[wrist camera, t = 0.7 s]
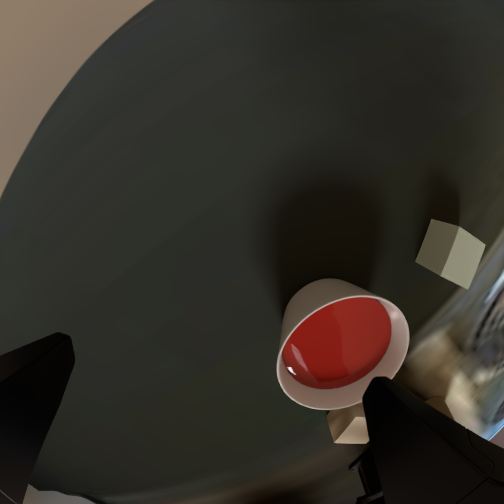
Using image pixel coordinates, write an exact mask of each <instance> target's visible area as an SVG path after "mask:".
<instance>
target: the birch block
mask: <svg viewBox="0 0 504 504" xmlns="http://www.w3.org/2000/svg"><path fill="white" fill-rule="evenodd" d="M326 418H327V421H328V424H329V428H330V431H331V434H332V438H333V441H334V443H348V444H366V443H367V442H368V441H369V437H368V431H367V425H366V420H365V414H364V409H363V404H362V402H360V403H357V404H355V405H352V406H349V407H345V408H340V409H333V410H330V412H329V413H328V415H327V416H326Z"/></svg>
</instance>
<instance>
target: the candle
mask: <svg viewBox="0 0 504 504" xmlns="http://www.w3.org/2000/svg"><path fill="white" fill-rule="evenodd" d="M408 346H409V328H408V324H407V321H406V319H405V317H404V315H403V313H402V312H401V311H400V310H399V308H398V307H396V306H395V305H394V304H393V303H391V302H390V301H388V300H386V299H384V298H382V297H380V296H378V295H376V294H373V293H371V292H369V291H367V290H365V289H363V288H360V287H358V286H356V285H354V284H352V283H349V282H347V281H344V280H340V279H334V278H327V279H320V280H317V281H314V282H311V283H309V284H307V285H306V286H304V287H303V288H301V289H300V290H299V291H298V292H297V293H296V294H295V295H294V296H293V297H292V298H291V300H290V301H289V303H288V305H287V307H286V309H285V312H284V316H283V322H282V329H281V336H280V343H279V350H278V357H277V376H278V380H279V383H280V385H281V387H282V389H283V390H284V392H285V393H286V394H287V395H288V396H289V397H290V398H291V399H292V400H294V401H295V402H297V403H299V404H301V405H303V406H306V407H309V408H313V409H320V410H333V409H340V408H345V407H349V406H352V405H355V404H357V403H360V402H362V397H363V394H364V392H365V390H366V389H367V387H368V385H369V383H370V382H371V380H372V379H373V378H374V377H376V376H386V377H388V378H390V379H392V378H393V377H394V376H395V374H396V373H397V372H398V370H399V369H400V367H401V365H402V363H403V361H404V359H405V356H406V354H407V350H408Z"/></svg>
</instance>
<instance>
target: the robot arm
mask: <svg viewBox="0 0 504 504" xmlns="http://www.w3.org/2000/svg"><path fill="white" fill-rule="evenodd" d="M74 364H75V355H74V350H73V345H72V340H71V338H70V336H69V335H66V334H63V333H60V332H57V333H54V334H52V335H49V336H47V337H44V338H42V339H39V340H37V341H34V342H32V343H30V344H27V345H25V346H22V347H20V348H17V349H15V350H12V351H10V352H8V353H5V354H3V355H0V504H22V503H23V500H24V496H25V493H26V490H27V487H28V484H29V481H30V478H31V475H32V472H33V469H34V466H35V463H36V461H37V458H38V455H39V453H40V450H41V448H42V445H43V443H44V440H45V438H46V435H47V433H48V431H49V428H50V426H51V424H52V421H53V419H54V417H55V415H56V413H57V410H58V408H59V406H60V403H61V401H62V398H63V395H64V392H65V389H66V386H67V383H68V380H69V378H70V375H71V372H72V370H73V367H74ZM362 404H363V409H364V414H365V420H366V425H367V431H368V437H369V441H370V445H371V447H370V448H369V449H368V450H367V451H366V452H365V453H364V454H363V455H362V456H361V457H360V458H359V459H358V460H357V461H356V462H355V463H354V464H353V465H352V466H351V467H350V468H349V471H350V472H355V471H358V472H359V475H360V478H361V481H362V484H363V487H364V490H365V493H366V495H364V496H362V497H361V496H360V497H358V498H357V502H356V504H504V448H502V447H499V446H497V445H495V444H493V443H491V442H489V441H488V440H486V439H484V438H482V437H480V436H479V435H477V434H475V433H474V432H472V431H470V430H469V429H466V428H465V427H464V426H462V425H461V424H459V423H457V422H456V421H454V420H453V419H451V418H449V417H448V416H446V415H445V414H443V413H442V412H440V411H438V410H437V409H435V408H434V407H432V406H431V405H429V404H428V403H426V402H425V401H423V400H421V399H420V398H418V397H417V396H415V395H414V394H412V393H411V392H409V391H408V390H406V389H405V388H403V387H402V386H400V385H399V384H397V383H396V382H394V381H393V380H391V379H390V378H388V377H386V376H376V377H374V378H373V379H372V380H371V382H370V383H369V385H368V387H367V389H366V390H365V392H364V394H363V397H362Z"/></svg>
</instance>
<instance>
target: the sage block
mask: <svg viewBox="0 0 504 504" xmlns="http://www.w3.org/2000/svg"><path fill="white" fill-rule="evenodd" d="M484 248H485V244H483V243H482V242H481V241H479V240H478V239H477V238H475V237H474V236H472V235H471V234H470V233H468V232H467V231H465V230H464V229H462V228H461V227H459V226H456V225H452V224H449V223H445V222H441V221H438V220H434V219H431V222H430V224H429V227H428V230H427V233H426V235H425V238H424V241H423V243H422V246H421V248H420V251H419V253H418V256H417V258H416V261H415V262H416V263H418V264H420V265H422V266H424V267H425V268H427V269H429V270H431V271H432V272H434V273H436V274H438V275H440V276H441V277H444V278H446V279H448V280H450V281H452V282H454V283H456V284H458V285H460V286H462V287H464V288H466V289H469V286H470V284H471V282H472V279H473V277H474V274H475V272H476V270H477V267H478V264H479V262H480V259H481V256H482V254H483V251H484Z"/></svg>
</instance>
